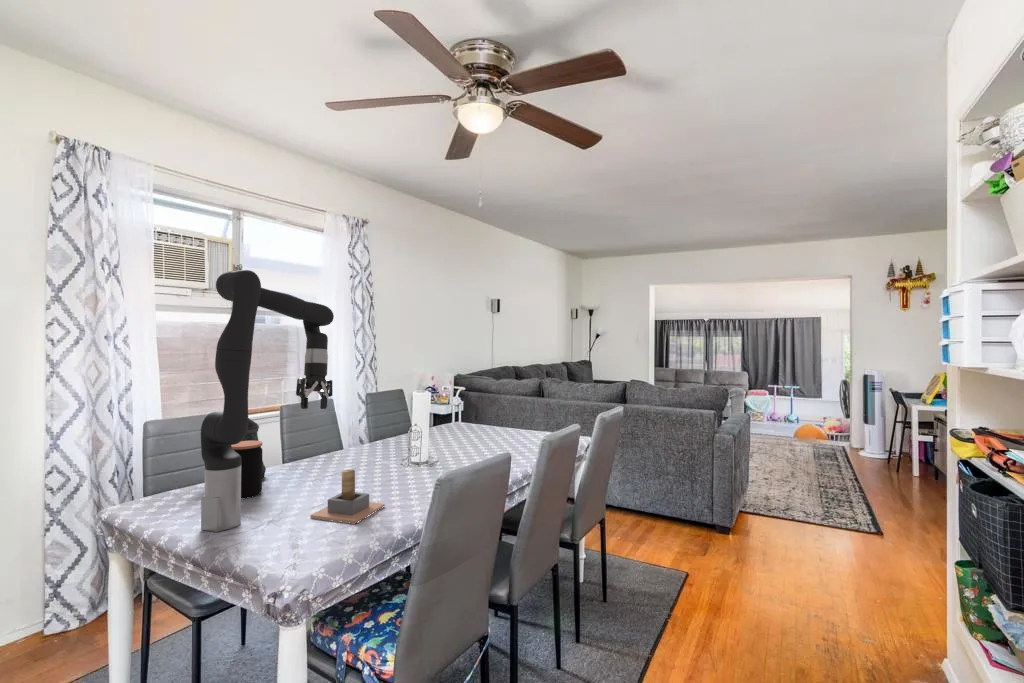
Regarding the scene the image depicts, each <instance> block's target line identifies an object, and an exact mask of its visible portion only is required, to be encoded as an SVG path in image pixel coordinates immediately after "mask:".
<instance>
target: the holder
mask: <svg viewBox="0 0 1024 683" xmlns="http://www.w3.org/2000/svg"><path fill="white" fill-rule="evenodd" d="M383 506H386V504H385V503H381V502H380V503H379V502H371V501H370V493H366V492H356V491H355V499H354V500H352V501H351V500H342V492H341V493H338V494H336V495H335V496H332V497H330V498H328V499H327V506H326V507H324V508H322V509H320V510H317V511H315V512H313V513H312V514H310V519H312V518H316V519H315V520H320V519H323V520H322V521H327V520H333V521H332V522H335V521H342V522H350V523H356V522H358V521H360V520H362V519H363V518H365V517H367V516H368V515H370V514H372V513H373V512H375V511H377V510H378V509H380V508H382V507H383ZM382 509H383V508H382ZM377 512H378V511H377ZM372 515H373V514H372ZM370 516H371V515H370ZM367 518H368V517H367ZM365 519H366V518H365ZM362 521H363V520H362ZM342 522H341V523H342ZM360 522H361V521H360ZM350 523H349V524H350Z"/></svg>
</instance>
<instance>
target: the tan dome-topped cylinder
mask: <svg viewBox="0 0 1024 683" xmlns="http://www.w3.org/2000/svg"><path fill="white" fill-rule="evenodd" d="M355 492H356V470H355V469H345V470H341V493H342V500H351V501H352V500H354V499H355Z"/></svg>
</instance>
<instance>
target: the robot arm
mask: <svg viewBox="0 0 1024 683" xmlns="http://www.w3.org/2000/svg"><path fill="white" fill-rule="evenodd" d="M215 288H216V292H217V294H218V295H219V296H220V297H221V298H222V299H224V300H226V301H228V302H232V305H231V306H232V307H231V313H230V317H229V319H228V322H227V323H226V326H225V327H224V329H223V331H222V332H221V334H220V336H219V339H218V341H217V343H216V350H215V359H214V360H215V362H214V367H215V372H216V376H217V378H218V381H219V382H220V386H221V388H222V390H223V391H222V392H223V397H224V401H223V402H224V403H223V411H222V410H220V411H219V410H218V411H217V410H216V411H212V412H210V413H208V414H207V415H206V416H205V417H204V419H203V421H202V423H201V426H200V451H201V452H200V453H201V459H202V461H203V463H204V494H203V495H202V496H201V497H200V500H201V502H200V504H201V505H200V530H203V531H208V532H214V533H219V532H222V531H225V530H226V531H227V530H230V529H234V528H235V527H238V526H239V525H240V524H241V522H242V521H241V520H242V516H241V514H242V499H241V456H240V455H239V454H238V453H237V452H235V451H234V449H233V448H232V446H231V445H234V444H238V443H240V442H241V441H242V440H243V439H244V437H245V435H246V433H247V429H248V418H249V385H250V371H251V363H252V354H253V341H254V333H255V325H256V316H257V312H258V307H259V308H262V309H266V310H270V311H272V312H274V313H278V314H280V315H284V316H287V317H289V318H292V319H294V320H299V321H302V325H303V328H304V332H305V336H306V337H305V338H306V343H305V344H306V345H305V353H304V370H303V371H304V372H303V376H305V377H298V378H297V379H296V387H295V388H296V390H295V395H296V397H297V396H298V397H300V408H301V409H302V410H307V409H309V396H310V394H311V393H312V392H317V394H319V395H320V409H321V410H326V409H327V407H328V399H329V398H330V397H333V380H332V379H326V377H327V376H328V365H329V364H328V361H329V360H328V358H329V355H328V343H329V342H328V341H329V339H328V337H329V336H328V335H327V334H326V333H323V332H321V329H320V327H324V326H329V325H331V323H333V320H334V317H335V314H334V312H333V310H332V309H331V308H330V307H329V306H327V305H324V304H321V303H316V302H311V301H307V300H304V299H302V298H300V297H297V296H295V295H292V294H290V293H285V292H280V291H275V290H272V289H268V288H264V287H262V283H261V279H260V278H259V275H258V274H257V273H256V272H255V271H252V270H249V269H243V270H242V269H240V270H232V271H227V272H224V273H221V274H220V275H219V276H218V278H216V281H215Z"/></svg>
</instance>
